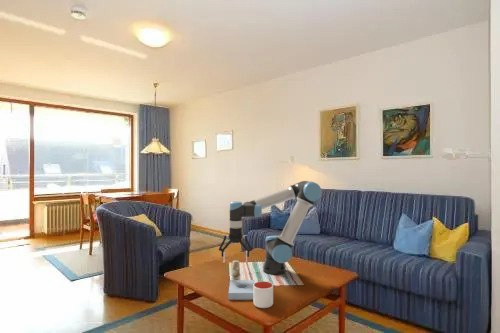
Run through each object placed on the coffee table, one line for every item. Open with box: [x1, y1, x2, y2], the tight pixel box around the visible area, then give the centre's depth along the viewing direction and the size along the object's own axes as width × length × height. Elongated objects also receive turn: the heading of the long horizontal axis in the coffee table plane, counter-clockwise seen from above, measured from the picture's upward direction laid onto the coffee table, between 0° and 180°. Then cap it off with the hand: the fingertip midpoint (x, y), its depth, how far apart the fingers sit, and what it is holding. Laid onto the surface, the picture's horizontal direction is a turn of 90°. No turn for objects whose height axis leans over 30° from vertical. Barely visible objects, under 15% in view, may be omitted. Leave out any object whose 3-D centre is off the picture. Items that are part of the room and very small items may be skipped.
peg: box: [232, 260, 241, 280], centre depth 189 cm, size 4×4×12 cm
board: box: [227, 279, 255, 301], centre depth 172 cm, size 14×18×4 cm
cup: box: [252, 280, 274, 309], centre depth 157 cm, size 10×10×10 cm
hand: (235, 262), depth 189 cm, fingers open, 13 cm apart
